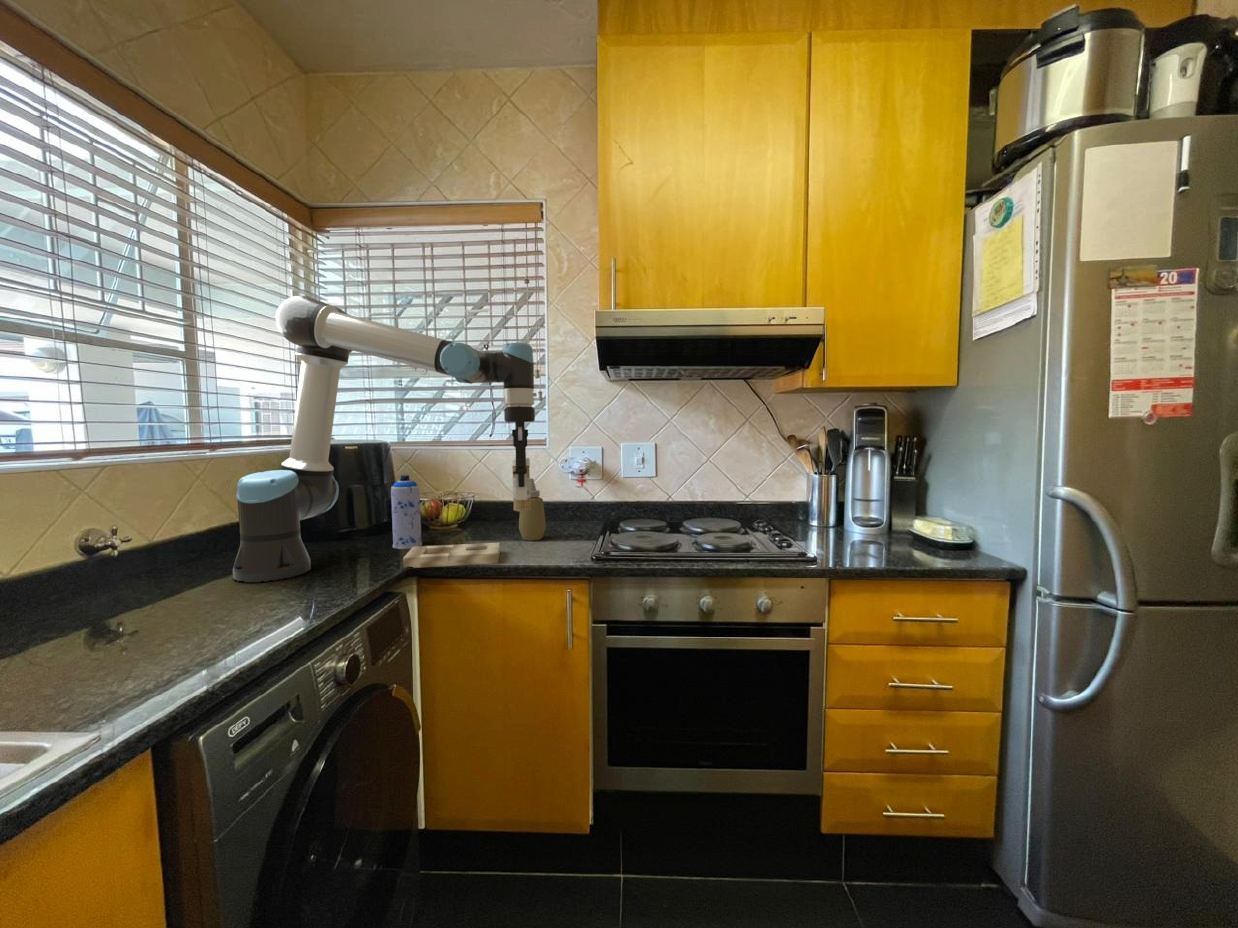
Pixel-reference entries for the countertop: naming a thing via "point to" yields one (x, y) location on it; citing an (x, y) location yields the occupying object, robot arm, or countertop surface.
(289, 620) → the countertop surface
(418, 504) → the aerosol can
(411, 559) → the holder block
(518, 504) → the sprinkles bottle
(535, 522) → the squeeze bottle
